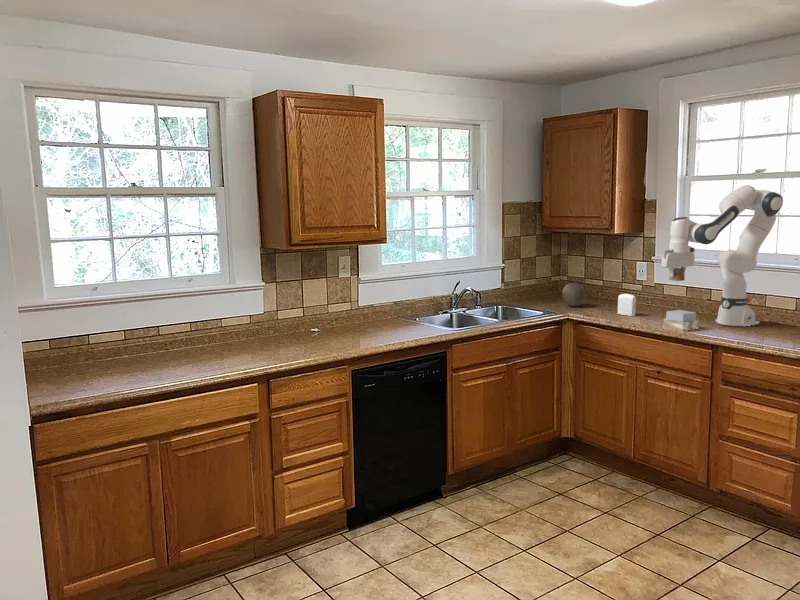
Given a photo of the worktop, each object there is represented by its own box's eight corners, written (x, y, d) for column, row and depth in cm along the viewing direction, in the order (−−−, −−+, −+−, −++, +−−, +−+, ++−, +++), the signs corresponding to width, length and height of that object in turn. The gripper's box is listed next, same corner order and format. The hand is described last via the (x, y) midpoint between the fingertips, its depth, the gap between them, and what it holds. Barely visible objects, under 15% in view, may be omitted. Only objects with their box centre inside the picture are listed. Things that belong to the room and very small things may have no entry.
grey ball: (564, 304, 408) (565, 281, 406) (587, 305, 402) (588, 282, 400) (559, 307, 395) (560, 283, 393) (583, 309, 389) (584, 284, 387)
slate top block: (679, 317, 336) (679, 309, 336) (695, 320, 327) (696, 312, 327) (666, 319, 331) (666, 311, 331) (682, 322, 323) (683, 314, 322)
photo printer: (616, 314, 371) (617, 293, 370) (620, 313, 374) (621, 292, 372) (632, 316, 364) (633, 295, 362) (636, 316, 366) (637, 294, 364)
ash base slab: (678, 326, 338) (679, 316, 337) (698, 330, 328) (699, 320, 327) (663, 328, 333) (663, 318, 332) (682, 332, 322) (683, 322, 321)
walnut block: (676, 279, 333) (676, 267, 332) (684, 280, 329) (684, 268, 328) (669, 279, 331) (669, 268, 330) (677, 280, 327) (678, 269, 326)
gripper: (669, 250, 320) (667, 277, 322) (697, 248, 329) (695, 275, 331) (658, 249, 326) (657, 276, 328) (687, 247, 335) (685, 274, 337)
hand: (677, 276), depth 330 cm, fingers closed on walnut block, 5 cm apart
